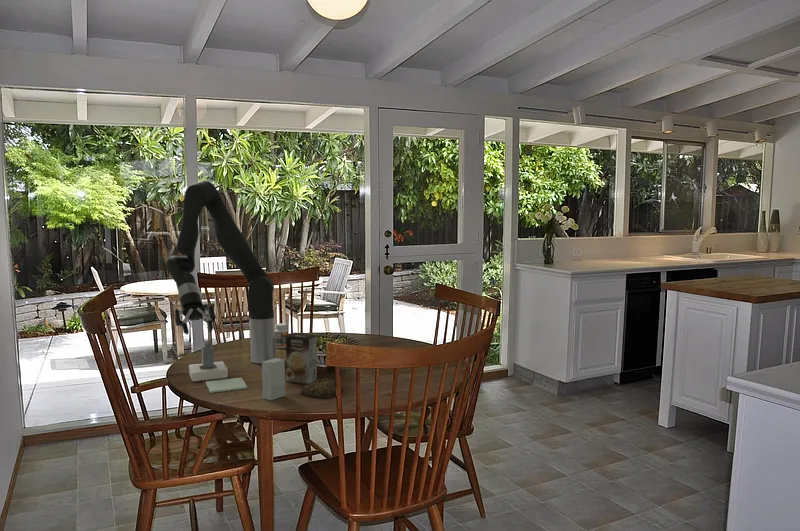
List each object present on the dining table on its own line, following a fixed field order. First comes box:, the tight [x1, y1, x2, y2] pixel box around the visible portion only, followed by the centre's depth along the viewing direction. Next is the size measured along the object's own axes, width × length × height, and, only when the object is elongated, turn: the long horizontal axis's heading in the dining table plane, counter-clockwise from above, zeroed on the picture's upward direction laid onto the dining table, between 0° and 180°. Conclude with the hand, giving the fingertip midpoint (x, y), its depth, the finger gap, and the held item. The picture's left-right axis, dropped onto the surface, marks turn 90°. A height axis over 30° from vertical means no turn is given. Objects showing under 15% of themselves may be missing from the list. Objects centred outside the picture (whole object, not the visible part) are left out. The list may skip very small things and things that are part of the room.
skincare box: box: [261, 357, 286, 401], centre depth 193 cm, size 6×4×12 cm
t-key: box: [201, 340, 215, 370], centre depth 218 cm, size 4×5×12 cm
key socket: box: [188, 360, 229, 382], centre depth 219 cm, size 12×12×3 cm
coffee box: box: [285, 332, 318, 385], centre depth 212 cm, size 9×6×16 cm
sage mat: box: [205, 377, 248, 394], centre depth 206 cm, size 12×12×1 cm
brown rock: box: [300, 377, 337, 399], centre depth 199 cm, size 13×12×5 cm
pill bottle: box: [274, 322, 289, 349], centre depth 261 cm, size 6×6×10 cm
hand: (199, 332), depth 225 cm, fingers open, 8 cm apart
